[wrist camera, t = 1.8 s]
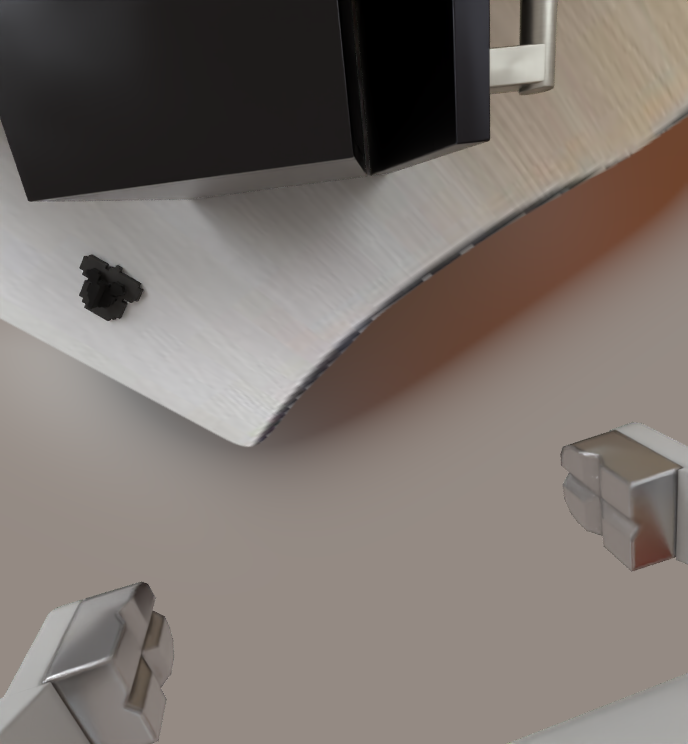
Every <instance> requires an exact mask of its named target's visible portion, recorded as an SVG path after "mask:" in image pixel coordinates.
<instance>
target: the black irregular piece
mask: <svg viewBox="0 0 688 744" xmlns="http://www.w3.org/2000/svg"><path fill="white" fill-rule="evenodd" d="M108 265H109V264H107V263H106V262H104V261H102V260H101V259H99V258H97V257H95V256H94V255H89V257H87V256H84V257H83V260H82V263H81V265H80V269H82V270H83V273H82V275H84V276H86V277H87V278H88V280H85V281H84V284H83V287H82V289H81V292H80V294H79V296H81V297H82V298H83V300H82V302H83V303H85V307H84V308H86V309H88V310H89V311H91V312H93V313H95V314H96V315H98V316H100V317H102V318H103V319H105V320H107V321H110V320H111V319H113V320H115V319H116V318H119V319H120V318H121V317H122V315H123V313H124V310H125V308H126V306H127V303H126V302H124V299H125V300H127V301H128V302H130V303H132V302H133V301H134V300H135V301H136V302H137V301H139V299H140V296H141V294H142V292H143V289H142V288H140V285H141V283H139V282H138V281H136V280H134V279H133V278H131V277H129V276H128V275H126V274H124V273H123V272H121V270H122V267H120V266H119V265H117V266H116V267H115V268H114V267H110V269H108V268H107V267H108Z"/></svg>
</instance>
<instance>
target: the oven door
mask: <svg viewBox="0 0 688 744" xmlns="http://www.w3.org/2000/svg"><path fill="white" fill-rule="evenodd" d="M557 5H558V0H520V45H517V46H507V47H496V48H490V0H355V7H356V19H357V30H358V41H359V53H360V64H361V75H362V86H363V98H364V109H365V120H366V131H367V143H368V154H369V165H370V175H371V176H374V175H382V174H389V173H392V172H395V171H398V170H401V169H404V168H407V167H410V166H413V165H416V164H419V163H422V162H426V161H429V160H432V159H435V158H438V157H441V156H444V155H447V154H450V153H453V152H456V151H459V150H462V149H465V148H468V147H472V146H475V145H478V144H481V143H484V142H487V141H489V140H490V94H497V93H506V92H516V91H519V94H520V95H531V94H537V93H541V92H545V91H548V90H551V89H553V88H554V81H555V56H556V31H557Z"/></svg>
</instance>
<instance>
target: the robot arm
mask: <svg viewBox="0 0 688 744" xmlns="http://www.w3.org/2000/svg"><path fill="white" fill-rule="evenodd" d="M561 466H562V467H564V468H565V469H566V470H567V471H568V472H569V474H568V476H567V478H566V479H565V481H564V483H563V490H564V498H565V501H566V503H567V505H568V508H569V510H570V512H571V514H572V515H573V517H574V518H575V519H576V521H577V522H578V523H579V524H580V525H581V526H582V527H583V528H584V529H585V530H586V531H589V532H592V533H595V534H598V535H602V536H603V544H604V547H605V548H606V549H607V550H608V551H609V552H611V553H612V554H613V555H614V556H615V557H616V558H617V559H618V560H619V561H621V562H622V563H623V564H624V565H625V566H626V567H627V568H628V569H629V570H630V571H635V570H638V569H641V568H644V567H647V566H650V565H653V564H656V563H660V562H663V561H665V560H669V559H671V558H675V557H676V560H678V561H681V562H683V563H685V564H688V446H686V445H684V444H682V443H680V442H678V441H676V440H674V439H672V438H670V437H668V436H666V435H664V434H662V433H660V432H658V431H656V430H654V429H652V428H650V427H648V426H646V425H644V424H642V423H634V422H632V423H629V424H626V425H624V426H621V427H618V428H615V429H612V430H610V431H609V432H606V433H603V434H601V435H597V436H594V437H591V438H588V439H585V440H582V441H579V442H576V443H573V444H570V445H567V446H564V447H563V448H562V451H561ZM154 602H155V596H154V595H153V592H152V591H151V589H150V587H149V585H148V584H147V583H144V582H139V583H135V584H132V585H129V586H126V587H122V588H119V589H115V590H113V591H109V592H105V593H102V594H99V595H95V596H92V597H89V598H86V599H84V600H79V601H76V602H73V603H70V604H66V605H64V606H60V607H57V608H56V609H54V610H53V611H52V612H50V613H49V614H48V616H47V618H46V620H45V622H44V623H43V625H42V627H41V629H40V631H39V633H38V635H37V636H36V638H35V640H34V642H33V644H32V646H31V648H30V650H29V651H28V653H27V655H26V657H25V659H24V661H23V663H22V664H21V666H20V668H19V670H18V672H17V674H16V675H15V677H14V679H13V681H12V683H11V685H10V687H9V689H8V690H7V692H6V694H5V696H4V698H1V699H0V744H152V743H154V742H157V741H158V740H159V735H160V730H161V725H162V720H163V714H164V709H165V704H166V697H165V695H164V693H163V691H162V690H161V687H162V686H163V684H164V683H165V681H166V680H167V679H168V677H169V676H170V675H171V672H172V666H173V660H174V650H173V638H172V634H171V630H170V627H169V625H168V622H167V620H166V618H165V616H163V615H161V614H159V613H157V612H155V611H153V606H154ZM508 744H688V673H687V674H684V675H682V676H679V677H677V678H674V679H671V680H669V681H667V682H664V683H661V684H659V685H656V686H654V687H651V688H648V689H646V690H643V691H641V692H638V693H636V694H633V695H631V696H628V697H625V698H623V699H620V700H618V701H615V702H613V703H610V704H607V705H605V706H602V707H600V708H598V709H595V710H592V711H590V712H587V713H584V714H582V715H579V716H577V717H574V718H572V719H569V720H567V721H564V722H562V723H559V724H557V725H554V726H551V727H549V728H546V729H544V730H541V731H538V732H536V733H534V734H531V735H528V736H526V737H523V738H520V739H518V740H515V741H513V742H511V743H508Z"/></svg>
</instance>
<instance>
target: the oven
mask: <svg viewBox="0 0 688 744" xmlns="http://www.w3.org/2000/svg"><path fill="white" fill-rule="evenodd" d="M0 119H1V122H2V125H3V128H4V131H5V134H6V137H7V140H8V143H9V146H10V149H11V152H12V155H13V157H14V160H15V163H16V166H17V169H18V172H19V175H20V178H21V181H22V184H23V187H24V190H25V193H26V196H27V199H28V201H30V202H42V201H122V200H191V199H199V198H206V197H214V196H222V195H229V194H237V193H245V192H252V191H260V190H268V189H275V188H283V187H291V186H298V185H306V184H314V183H321V182H329V181H337V180H344V179H352V178H360V177H367V169H366V158H365V147H364V136H363V125H362V114H361V103H360V93H359V82H358V71H357V60H356V49H355V38H354V27H353V16H352V5H351V0H0Z"/></svg>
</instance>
